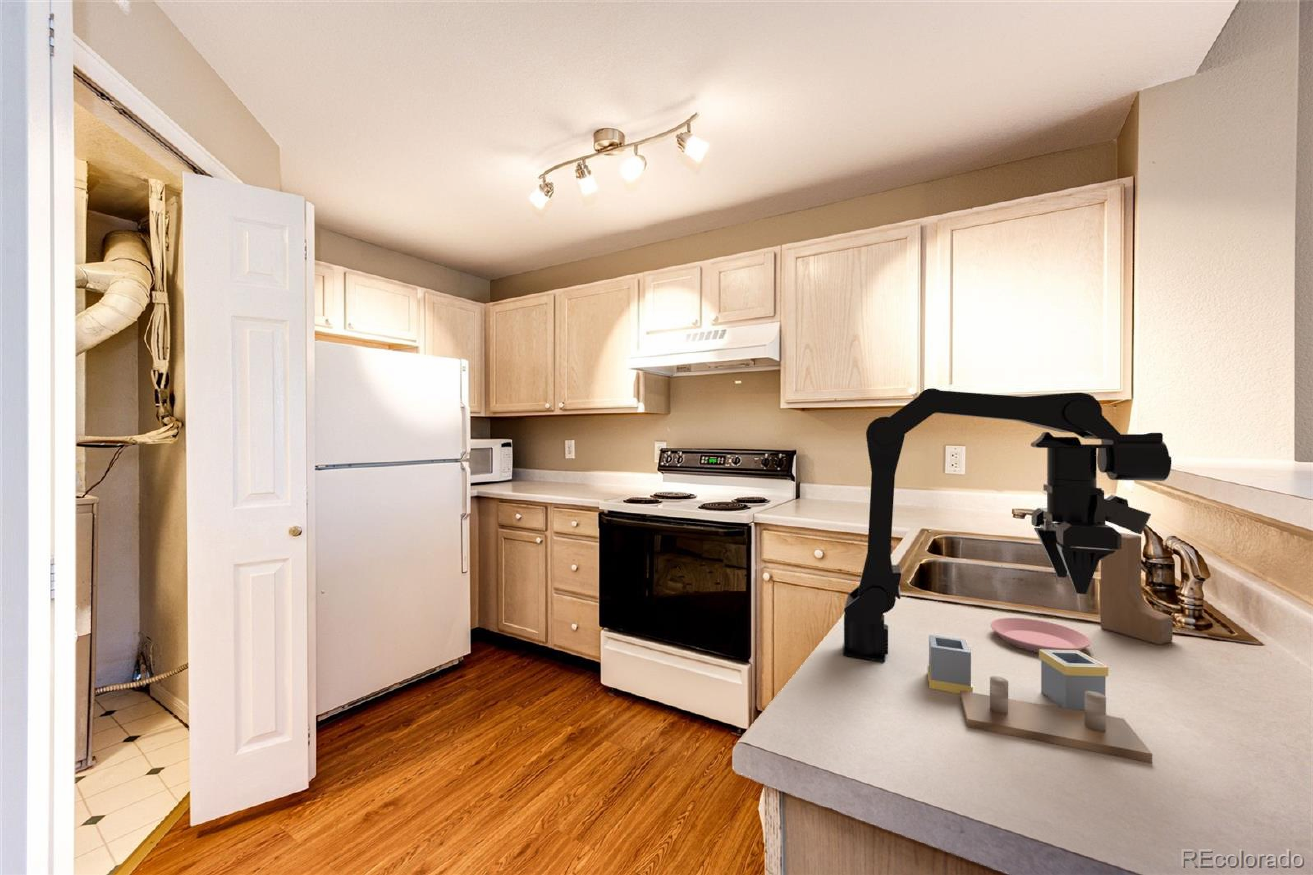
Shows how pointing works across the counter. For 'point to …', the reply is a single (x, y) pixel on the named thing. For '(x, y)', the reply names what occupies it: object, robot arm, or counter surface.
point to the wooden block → (1130, 597)
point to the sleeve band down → (949, 664)
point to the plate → (1039, 635)
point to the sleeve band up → (1070, 677)
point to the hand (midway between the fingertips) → (1070, 584)
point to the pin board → (1053, 722)
